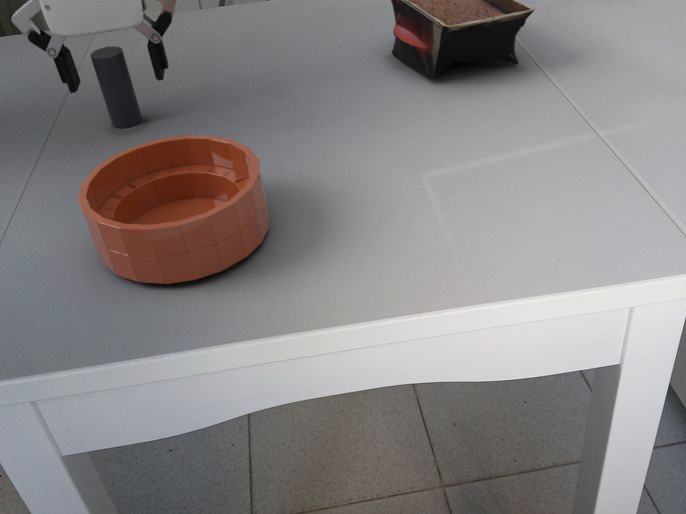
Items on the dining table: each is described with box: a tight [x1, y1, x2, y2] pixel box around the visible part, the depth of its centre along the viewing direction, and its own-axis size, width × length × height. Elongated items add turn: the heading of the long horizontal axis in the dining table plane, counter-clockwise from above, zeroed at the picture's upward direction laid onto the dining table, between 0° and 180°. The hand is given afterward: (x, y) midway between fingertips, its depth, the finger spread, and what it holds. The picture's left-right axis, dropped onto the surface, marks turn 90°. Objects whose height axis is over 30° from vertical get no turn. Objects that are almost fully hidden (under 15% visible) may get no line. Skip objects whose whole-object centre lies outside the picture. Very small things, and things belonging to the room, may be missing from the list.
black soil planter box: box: [390, 0, 535, 80], centre depth 87 cm, size 14×18×10 cm
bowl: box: [77, 134, 270, 285], centre depth 64 cm, size 15×15×6 cm
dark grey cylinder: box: [89, 45, 143, 129], centre depth 82 cm, size 4×4×8 cm
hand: (118, 81), depth 82 cm, fingers open, 9 cm apart
